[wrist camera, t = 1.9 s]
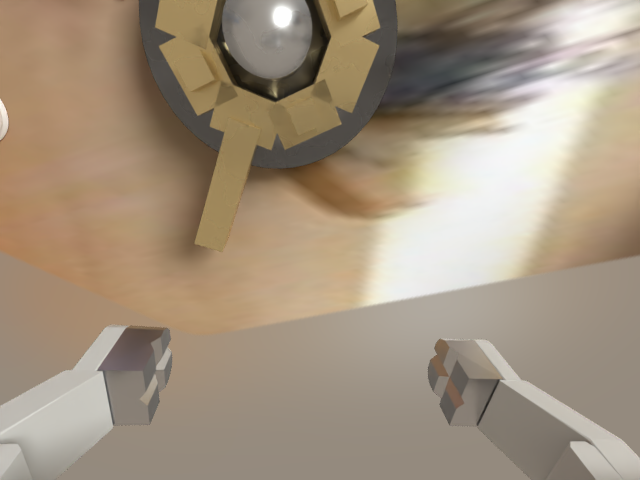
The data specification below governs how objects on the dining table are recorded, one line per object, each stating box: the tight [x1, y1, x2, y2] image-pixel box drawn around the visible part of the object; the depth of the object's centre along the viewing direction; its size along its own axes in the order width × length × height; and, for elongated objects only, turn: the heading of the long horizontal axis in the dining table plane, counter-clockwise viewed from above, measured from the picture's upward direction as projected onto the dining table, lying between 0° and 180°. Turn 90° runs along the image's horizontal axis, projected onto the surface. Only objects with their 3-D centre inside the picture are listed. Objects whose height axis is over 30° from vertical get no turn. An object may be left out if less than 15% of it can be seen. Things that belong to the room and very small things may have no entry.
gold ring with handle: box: [155, 0, 381, 252], centre depth 20 cm, size 20×12×3 cm, turn 158°
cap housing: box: [139, 0, 397, 168], centre depth 19 cm, size 22×16×8 cm
